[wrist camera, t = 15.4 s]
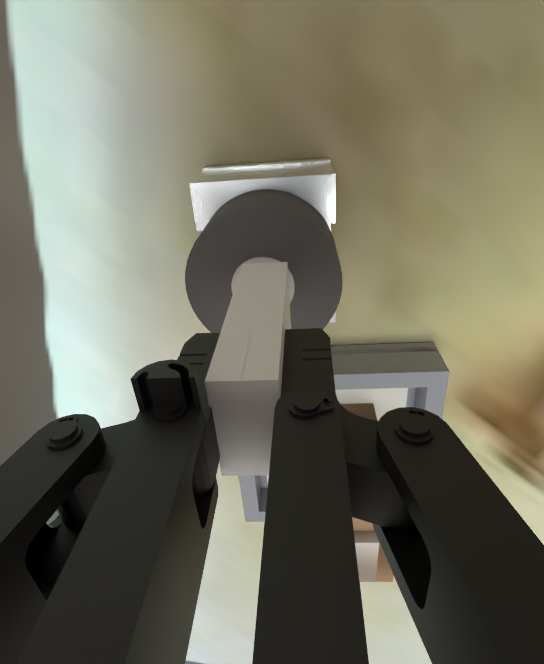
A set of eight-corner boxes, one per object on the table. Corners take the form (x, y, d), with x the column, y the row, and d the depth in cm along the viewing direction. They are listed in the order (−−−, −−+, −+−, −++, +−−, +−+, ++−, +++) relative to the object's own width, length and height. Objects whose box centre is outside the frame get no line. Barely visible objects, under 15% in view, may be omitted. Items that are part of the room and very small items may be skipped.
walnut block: (291, 404, 27) (289, 528, 19) (373, 403, 26) (403, 528, 19) (294, 462, 29) (293, 592, 22) (369, 462, 29) (394, 593, 21)
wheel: (203, 180, 20) (170, 213, 15) (330, 172, 20) (343, 203, 15) (219, 295, 23) (197, 357, 18) (331, 290, 23) (341, 352, 18)
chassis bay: (230, 349, 26) (223, 378, 24) (433, 342, 25) (449, 371, 23) (249, 486, 32) (245, 521, 29) (414, 484, 31) (425, 520, 28)
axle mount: (205, 166, 21) (188, 180, 18) (329, 157, 21) (335, 171, 17) (223, 296, 24) (212, 329, 21) (330, 291, 24) (335, 324, 21)
